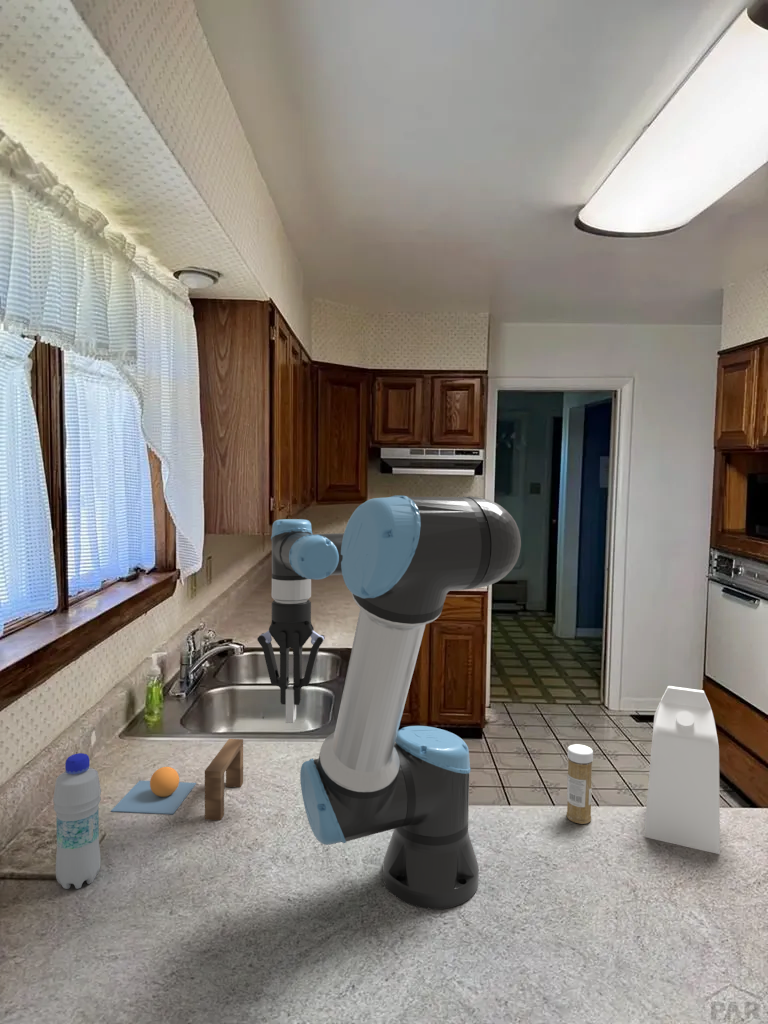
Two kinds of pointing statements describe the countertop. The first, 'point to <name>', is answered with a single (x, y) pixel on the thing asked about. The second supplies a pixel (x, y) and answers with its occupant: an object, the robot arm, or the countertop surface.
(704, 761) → the milk
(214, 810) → the bridge
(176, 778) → the ball
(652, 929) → the countertop surface
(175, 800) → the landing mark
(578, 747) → the sprinkles bottle
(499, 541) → the robot arm
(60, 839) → the bottle
